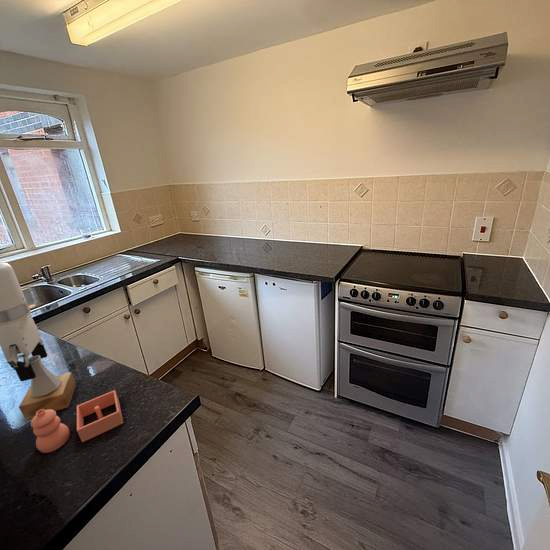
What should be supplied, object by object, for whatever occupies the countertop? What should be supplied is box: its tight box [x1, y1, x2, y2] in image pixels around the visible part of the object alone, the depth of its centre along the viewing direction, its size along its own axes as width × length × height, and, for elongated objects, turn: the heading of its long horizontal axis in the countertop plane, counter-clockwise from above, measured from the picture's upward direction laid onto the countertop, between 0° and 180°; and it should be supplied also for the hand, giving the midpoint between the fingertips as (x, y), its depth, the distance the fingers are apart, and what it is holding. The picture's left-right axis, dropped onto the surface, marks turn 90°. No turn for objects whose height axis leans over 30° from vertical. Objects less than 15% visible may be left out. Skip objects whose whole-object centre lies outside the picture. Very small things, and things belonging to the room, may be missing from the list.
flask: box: [28, 355, 62, 398], centre depth 82 cm, size 7×7×10 cm
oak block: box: [18, 371, 77, 421], centre depth 84 cm, size 10×10×5 cm
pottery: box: [30, 389, 124, 454], centre depth 73 cm, size 18×10×10 cm, turn 123°
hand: (35, 368), depth 81 cm, fingers open, 9 cm apart
